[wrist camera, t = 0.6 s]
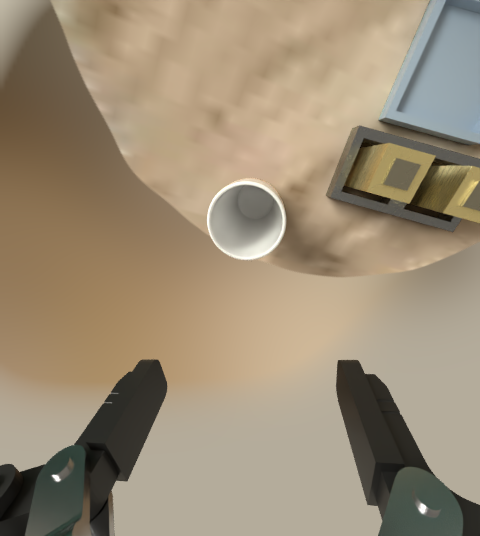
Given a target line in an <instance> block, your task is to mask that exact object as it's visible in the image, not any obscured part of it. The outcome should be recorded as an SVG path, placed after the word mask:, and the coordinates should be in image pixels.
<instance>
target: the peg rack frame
mask: <svg viewBox="0 0 480 536" xmlns="http://www.w3.org/2000/svg"><path fill="white" fill-rule="evenodd" d="M362 142H365V143H369V144H372V145H380V144H386V143H392V144H395V145H399V146H403V147H406V148H410V149H413V150H417V151H421V152H424V153H428V154H431V155H435V156H436V157H435V159H434V160H433V162H437V163H440V164H444V165H448V166H475V167H479V168H480V159H478V158H474V157H471V156H467V155H464V154H460V153H456V152H453V151H449V150H446V149H442V148H438V147H435V146H431V145H428V144H424V143H420V142H417V141H413V140H410V139H406V138H402V137H399V136H395V135H392V134H388V133H384V132H381V131H377V130H374V129H370V128H366V127H363V126H357V127H355V128H353V129H352V131H351V133H350V136H349V138H348V141H347V143H346V146H345V148H344V151H343V153H342V156H341V158H340V161H339V163H338V166H337V168H336V171H335V173H334V176H333V178H332V181H331V183H330V186H329V188H328V191H327V193H326V196H328V197H330V198H333V199H337V200H341V201H344V202H348V203H351V204H355V205H359V206H362V207H366V208H369V209H373V210H376V211H380V212H384V213H387V214H391V215H394V216H398V217H401V218H405V219H409V220H412V221H416V222H419V223H423V224H426V225H430V226H434V227H437V228H441V229H444V230H448V231H451V232H453V231H454V230H455V228H456V227H457V225H458V224H459V222H460V221H461V219H462V218H459V217H455V216H451V215H448V214H444V213H440V214H439V216H438V217H437V218H435V217H432V216H428V215H425V214H421V213H418V212H414V211H410V210H407V209H404V207H405V206H406V204H407V203H405V202H401V201H398V200H394V199H390V198H387V197H383V196H382V197H381V199H380V201H379V202H378V201H375V200H371V199H367V198H364V197H360V196H357V195H353V194H350V193H346V192H342V189H343V186H344V184H345V182H346V179H347V177H348V174H349V172H350V170H351V167H352V165H353V163H354V160H355V158H356V155H357V153H358V151H359V148H360V146H361V144H362Z"/></svg>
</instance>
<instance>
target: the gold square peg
mask: <svg viewBox="0 0 480 536" xmlns="http://www.w3.org/2000/svg"><path fill="white" fill-rule="evenodd" d="M410 204H412V205H415V206H419V207H423V208H426V209H430V210H433V211H437V212H441V213H444V214H448V215H451V216H455V217H459V218H462V219H466V220H470V221H473V222H477V223H480V168H479V167H475V166H430V168H429V169H428V171H427V173H426V175H425V177H424V178H423V180H422V182H421V184H420V186H419V187H418V189H417V191H416V193H415V195H414V196H413V198H412V200H411V202H410Z"/></svg>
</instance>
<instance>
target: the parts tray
mask: <svg viewBox="0 0 480 536" xmlns="http://www.w3.org/2000/svg"><path fill="white" fill-rule="evenodd" d="M379 120H380V121H383V122H387V123H390V124H394V125H398V126H401V127H405V128H408V129H412V130H416V131H419V132H423V133H426V134H430V135H434V136H437V137H441V138H444V139H448V140H452V141H455V142H459V143H462V144H466V145H474V144H480V0H430V2H429V4H428V7H427V9H426V11H425V13H424V16H423V18H422V20H421V23H420V25H419V27H418V30H417V32H416V34H415V37H414V39H413V41H412V43H411V46H410V48H409V50H408V53H407V55H406V57H405V60H404V62H403V64H402V67H401V69H400V71H399V73H398V76H397V78H396V80H395V83H394V85H393V87H392V90H391V92H390V94H389V97H388V99H387V101H386V103H385V106H384V108H383V110H382V113H381V115H380V117H379Z"/></svg>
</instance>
